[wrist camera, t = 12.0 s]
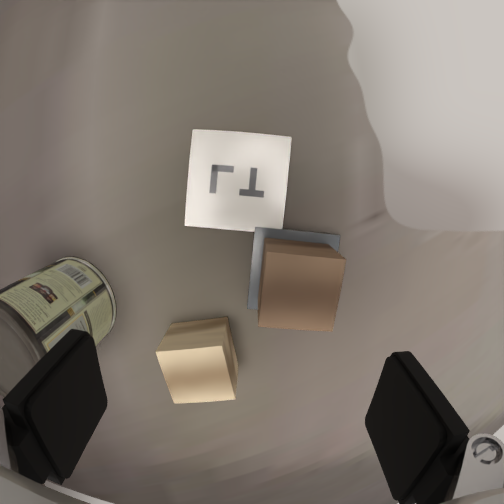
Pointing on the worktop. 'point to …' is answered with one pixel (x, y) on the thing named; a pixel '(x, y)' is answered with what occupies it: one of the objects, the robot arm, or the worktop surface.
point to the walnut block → (299, 285)
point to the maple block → (199, 361)
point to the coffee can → (50, 314)
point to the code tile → (237, 180)
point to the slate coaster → (286, 235)
